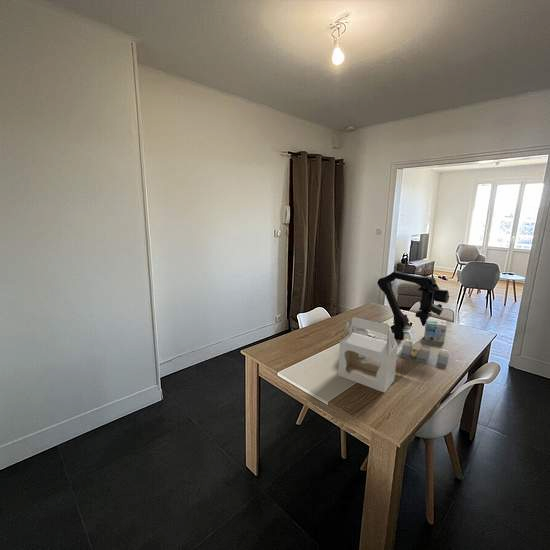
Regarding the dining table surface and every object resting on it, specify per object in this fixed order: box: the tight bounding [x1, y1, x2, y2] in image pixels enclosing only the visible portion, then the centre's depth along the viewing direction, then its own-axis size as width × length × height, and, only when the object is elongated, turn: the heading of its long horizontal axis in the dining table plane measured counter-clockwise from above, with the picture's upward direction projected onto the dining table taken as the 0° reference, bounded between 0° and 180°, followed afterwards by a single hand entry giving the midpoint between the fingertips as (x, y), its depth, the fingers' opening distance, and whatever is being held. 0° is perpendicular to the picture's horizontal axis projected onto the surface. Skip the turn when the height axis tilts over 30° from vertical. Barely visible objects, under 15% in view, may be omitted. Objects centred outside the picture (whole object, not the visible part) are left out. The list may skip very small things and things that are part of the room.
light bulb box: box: [423, 319, 447, 343], centre depth 178 cm, size 11×7×11 cm, turn 68°
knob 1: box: [402, 340, 413, 348], centre depth 158 cm, size 4×4×6 cm
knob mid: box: [419, 344, 431, 353], centre depth 153 cm, size 4×4×6 cm
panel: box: [397, 345, 453, 371], centre depth 153 cm, size 24×13×5 cm, turn 53°
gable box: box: [337, 316, 399, 394], centre depth 134 cm, size 22×13×28 cm, turn 51°
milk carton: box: [353, 326, 369, 359], centre depth 157 cm, size 7×7×19 cm
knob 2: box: [438, 348, 450, 358], centre depth 148 cm, size 4×4×6 cm
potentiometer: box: [410, 349, 418, 360], centre depth 153 cm, size 3×3×4 cm
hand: (423, 325), depth 167 cm, fingers closed
